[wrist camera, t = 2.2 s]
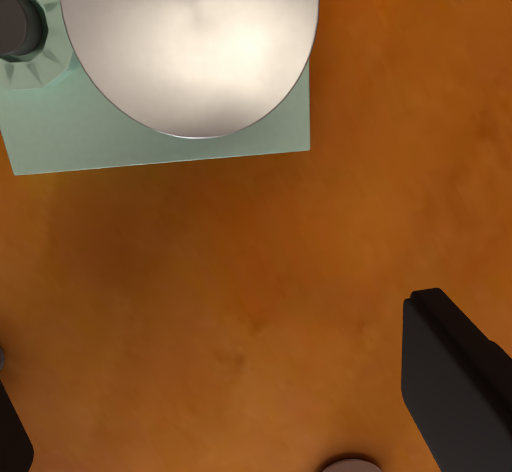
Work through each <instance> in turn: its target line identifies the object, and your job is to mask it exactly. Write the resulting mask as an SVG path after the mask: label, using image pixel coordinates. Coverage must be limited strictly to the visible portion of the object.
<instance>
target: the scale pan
mask: <svg viewBox="0 0 512 472" xmlns="http://www.w3.org/2000/svg"><path fill="white" fill-rule="evenodd" d="M319 2H320V1H319V0H60V6H61V12H62V18H63V21H64V25H65V28H66V32H67V36H68V38H69V41H70V43H71V46H72V48H73V50H74V53H75V55H76V57H77V59H78V60H79V62H80V64H81V66H82V68H83V70H84V71H85V73H86V74H87V75H88V77H89V78H90V80H91V81H92V83H93V84H94V85H95V87H96V88H97V89H98V90H99V91H100V92H101V93H102V94H103V96H104V97H105V98H106V99H107V100H108V101H109V102H111V103H112V104H113V105H114V106H115V107H116V108H117V109H118V110H120V111H121V112H122V113H124V114H125V115H127V116H128V117H130V118H131V119H132V120H134V121H136V122H138V123H140V124H142V125H144V126H145V127H147V128H150V129H152V130H155V131H158V132H160V133H163V134H167V135H171V136H175V137H181V138H190V139H208V138H215V137H221V136H225V135H229V134H232V133H236V132H238V131H241V130H243V129H245V128H247V127H250V126H252V125H253V124H255V123H256V122H258V121H260V120H261V119H263V118H264V117H266V116H267V115H268V114H269V113H271V112H272V111H273V110H274V109H276V107H277V106H278V105H279V104H280V103H281V102H282V101H283V100H284V99H285V98H286V97H287V96H288V94H289V93H290V92H291V90H292V89H293V88H294V86H295V85H296V83H297V82H298V80H299V78H300V76H301V75H302V73H303V71H304V69H305V67H306V64H307V62H308V60H309V57H310V55H311V52H312V48H313V45H314V41H315V38H316V32H317V26H318V20H319Z"/></svg>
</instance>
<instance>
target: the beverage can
mask: <svg viewBox="0 0 512 472" xmlns="http://www.w3.org/2000/svg"><path fill="white" fill-rule="evenodd" d="M322 472H382V471H381V470H380V469H379V468H378V467H377V466H376V465H374V464H372V463H370V462H367V461H363V460H359V459H346V460H341V461H338V462H335V463H333V464H331V465H330V466H328V467H327V468H326V469H324V470H323V471H322Z"/></svg>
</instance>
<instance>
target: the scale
mask: <svg viewBox="0 0 512 472" xmlns="http://www.w3.org/2000/svg"><path fill="white" fill-rule="evenodd" d="M30 1H31V2H32V3H33V4H34V6H35V7H36V9H37V10H38V12H39V14H40V17H41V20H42V24H43V35H42V39H41V42H40V44H39V45H38V47H37V48H36V49H35V50H34V51H32V52H31V53H29V54H26V55H21V56H12V55H0V130H1V133H2V137H3V140H4V143H5V146H6V150H7V153H8V156H9V160H10V163H11V166H12V170H13V173H14V175H27V174H38V173H50V172H62V171H73V170H85V169H97V168H108V167H120V166H132V165H143V164H155V163H166V162H178V161H190V160H201V159H213V158H225V157H236V156H248V155H260V154H271V153H283V152H295V151H306V150H310V99H309V60H308V62H307V64H306V67H305V69H304V71H303V73H302V75H301V76H300V78H299V80H298V82H297V83H296V85H295V86H294V88H293V89H292V90H291V92H290V93H289V94H288V96H287V97H286V98H285V99H284V100H283V101H282V102H281V103H280V104H279V105H278V106H277V107H276V109H274V110H273V111H272V112H271V113H269V114H268V115H267V116H266V117H264V118H263V119H261V120H260V121H258V122H256V123H255V124H253V125H252V126H250V127H247V128H245V129H243V130H241V131H238V132H236V133H232V134H229V135H225V136H221V137H215V138H208V139H190V138H181V137H175V136H171V135H167V134H163V133H160V132H158V131H155V130H152V129H150V128H147V127H145V126H144V125H142V124H140V123H138V122H136V121H134V120H132V119H131V118H130V117H128V116H127V115H125V114H124V113H122V112H121V111H120V110H118V109H117V108H116V107H115V106H114V105H113V104H112V103H111V102H109V101H108V100H107V99H106V98H105V97H104V96H103V94H102V93H101V92H100V91H99V90H98V89H97V88H96V87H95V85H94V84H93V83H92V81H91V80H90V78H89V77H88V75H87V74H86V73H85V71H84V70H83V68H82V66H81V64H80V62H79V60H78V59H77V57H76V55H75V53H74V50H73V48H72V46H71V43H70V41H69V38H68V36H67V32H66V28H65V25H64V21H63V18H62V12H61V6H60V0H30Z"/></svg>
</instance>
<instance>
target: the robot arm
mask: <svg viewBox="0 0 512 472" xmlns="http://www.w3.org/2000/svg"><path fill="white" fill-rule="evenodd" d="M401 391H402V396H403V399H404V402H405V404H406V406H407V408H408V410H409V412H410V414H411V416H412V417H413V419H414V421H415V423H416V425H417V427H418V429H419V431H420V432H421V434H422V436H423V438H424V440H425V442H426V444H427V446H428V447H429V449H430V451H431V453H432V455H433V457H434V459H435V460H436V462H437V464H438V466H439V468H440V470H441V472H512V359H511V358H510V357H509V356H508V355H507V354H506V353H505V351H504V350H503V349H502V348H501V347H500V346H498V345H497V344H496V343H495V342H493V341H490V340H488V338H487V337H486V336H485V335H484V334H483V333H482V332H481V331H480V330H479V329H478V328H477V327H476V326H475V325H474V324H473V323H472V322H471V321H470V319H469V318H468V317H467V316H466V315H465V314H464V313H463V312H462V311H461V310H460V309H459V308H458V307H457V306H456V305H455V304H454V303H453V302H452V300H451V299H450V298H449V297H448V296H447V295H446V294H445V293H444V292H443V291H442V290H441V289H439V288H432V289H425V290H419V291H413V292H412V293H411V296H410V298H409V299H405V300H404V304H403V338H402V375H401ZM33 457H34V450H33V446H32V444H31V442H30V440H29V438H28V436H27V433H26V431H25V429H24V427H23V425H22V423H21V421H20V419H19V417H18V415H17V413H16V411H15V409H14V407H13V405H12V403H11V401H10V399H9V397H8V395H7V393H6V391H5V389H4V386H3V384H2V382H1V380H0V472H28V471H29V469H30V467H31V465H32V462H33Z"/></svg>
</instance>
